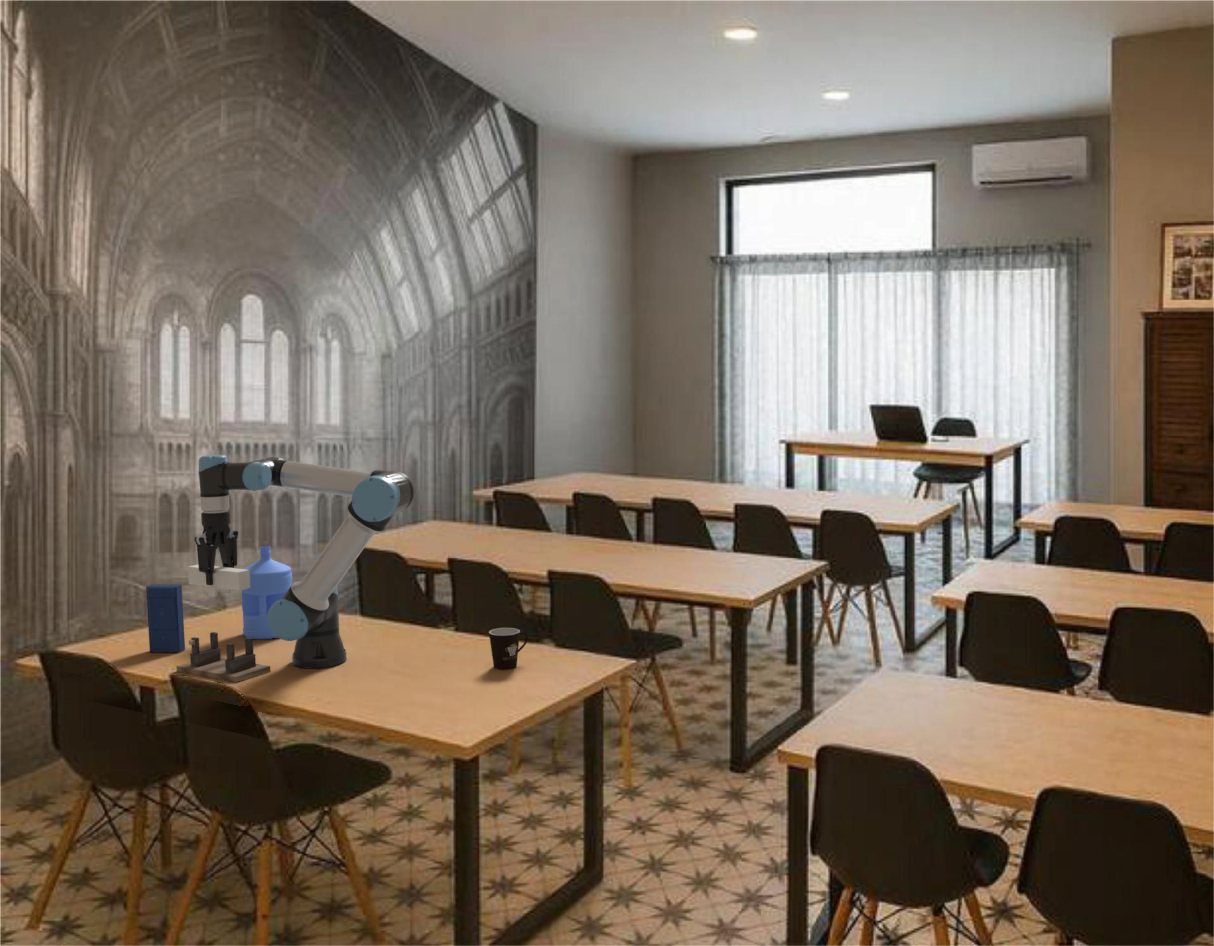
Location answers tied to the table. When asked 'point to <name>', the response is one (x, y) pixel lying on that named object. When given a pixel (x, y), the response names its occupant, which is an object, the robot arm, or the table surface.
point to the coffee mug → (505, 647)
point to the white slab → (221, 577)
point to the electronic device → (165, 617)
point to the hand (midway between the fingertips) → (219, 594)
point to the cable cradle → (222, 661)
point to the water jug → (263, 594)
